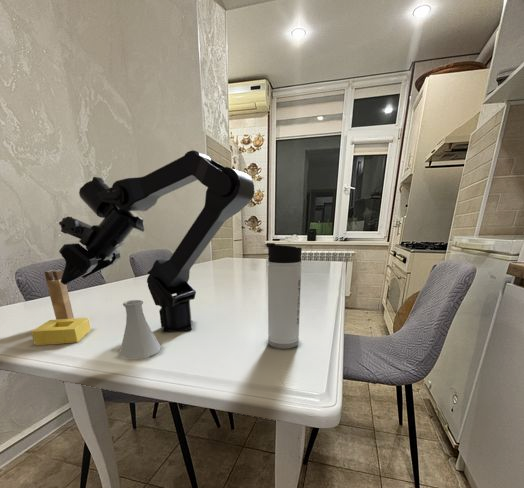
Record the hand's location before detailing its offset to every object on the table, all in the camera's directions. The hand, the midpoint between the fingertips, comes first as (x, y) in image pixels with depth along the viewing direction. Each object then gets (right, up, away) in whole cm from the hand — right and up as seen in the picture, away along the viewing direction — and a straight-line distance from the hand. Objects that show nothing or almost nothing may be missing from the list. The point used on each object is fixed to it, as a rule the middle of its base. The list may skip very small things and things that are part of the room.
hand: (73, 279), depth 70 cm
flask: (+22, -17, -14) cm, 31 cm away
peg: (-4, -10, +3) cm, 11 cm away
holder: (+2, -14, -6) cm, 15 cm away
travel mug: (+50, -15, -10) cm, 53 cm away
